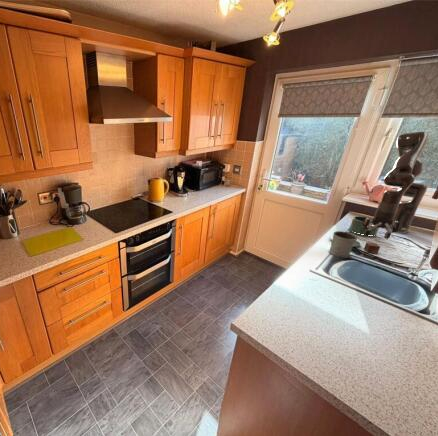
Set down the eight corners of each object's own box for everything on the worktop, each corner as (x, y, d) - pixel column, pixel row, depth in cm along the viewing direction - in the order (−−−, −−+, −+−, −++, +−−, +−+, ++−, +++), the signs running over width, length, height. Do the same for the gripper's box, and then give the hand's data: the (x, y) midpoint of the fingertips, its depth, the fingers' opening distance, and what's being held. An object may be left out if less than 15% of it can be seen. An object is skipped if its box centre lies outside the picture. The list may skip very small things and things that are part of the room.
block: (363, 248, 136) (366, 241, 134) (373, 250, 134) (376, 243, 132) (367, 252, 132) (369, 245, 130) (377, 253, 130) (380, 246, 129)
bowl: (326, 235, 152) (329, 226, 150) (354, 239, 147) (357, 230, 145) (333, 245, 140) (337, 235, 137) (364, 249, 135) (367, 239, 132)
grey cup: (344, 251, 133) (351, 232, 129) (354, 260, 124) (361, 240, 120) (324, 248, 136) (330, 230, 131) (332, 257, 127) (339, 238, 122)
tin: (346, 227, 165) (350, 215, 161) (370, 230, 160) (375, 217, 157) (353, 235, 153) (358, 222, 150) (379, 238, 148) (385, 225, 145)
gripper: (400, 209, 125) (388, 236, 130) (366, 206, 130) (357, 232, 136) (408, 214, 118) (396, 242, 124) (373, 210, 123) (362, 237, 129)
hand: (375, 237), depth 130 cm, fingers open, 8 cm apart
